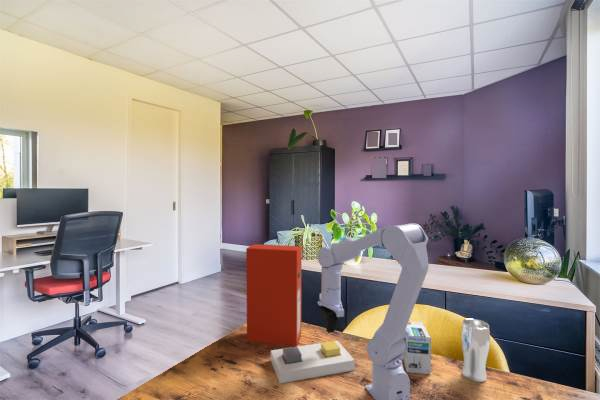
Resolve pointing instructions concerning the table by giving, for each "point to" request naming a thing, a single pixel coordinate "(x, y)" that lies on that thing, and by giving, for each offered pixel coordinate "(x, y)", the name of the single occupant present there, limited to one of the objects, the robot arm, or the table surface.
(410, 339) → the light bulb box
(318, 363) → the board
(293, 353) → the graphite key
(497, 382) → the table surface
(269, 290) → the file binder
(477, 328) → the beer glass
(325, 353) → the mustard key
